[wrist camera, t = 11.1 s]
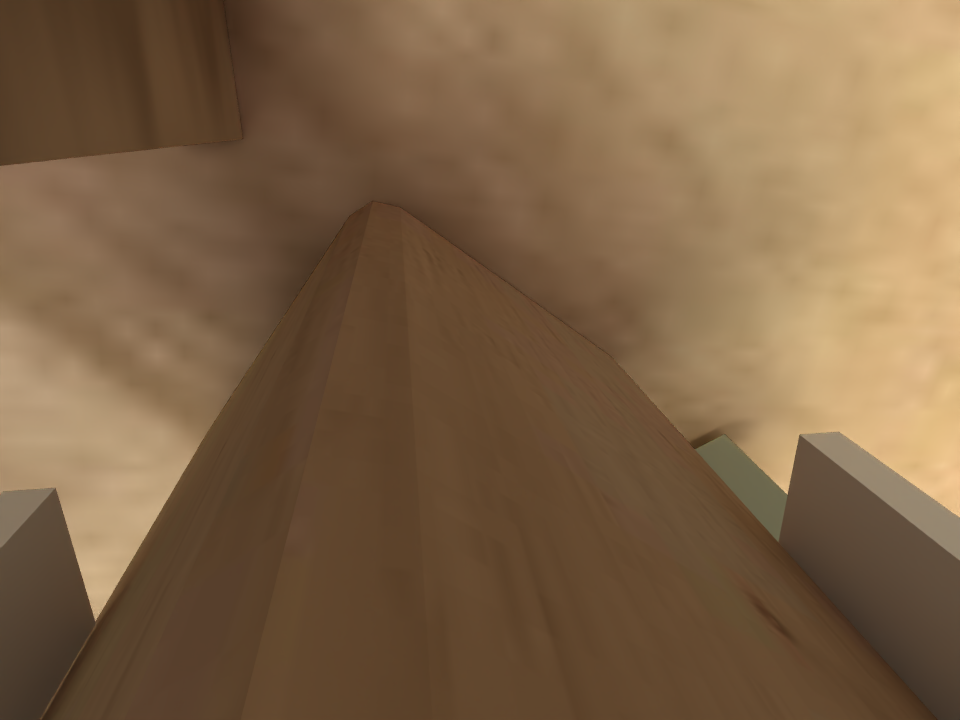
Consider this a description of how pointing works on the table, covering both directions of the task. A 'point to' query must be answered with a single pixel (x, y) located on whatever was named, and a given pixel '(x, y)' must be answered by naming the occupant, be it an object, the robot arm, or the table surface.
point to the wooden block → (458, 533)
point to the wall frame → (113, 77)
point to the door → (747, 482)
